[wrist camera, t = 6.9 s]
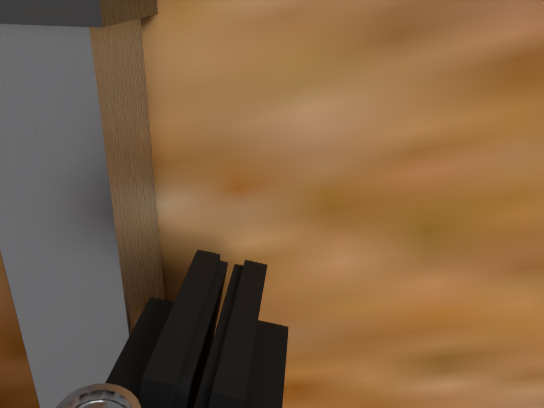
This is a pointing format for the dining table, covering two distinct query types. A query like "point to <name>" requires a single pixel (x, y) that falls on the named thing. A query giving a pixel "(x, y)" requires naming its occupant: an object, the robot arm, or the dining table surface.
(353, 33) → the dining table surface
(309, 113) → the dining table surface
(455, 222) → the dining table surface
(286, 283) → the dining table surface
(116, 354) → the tongs moving jaw
